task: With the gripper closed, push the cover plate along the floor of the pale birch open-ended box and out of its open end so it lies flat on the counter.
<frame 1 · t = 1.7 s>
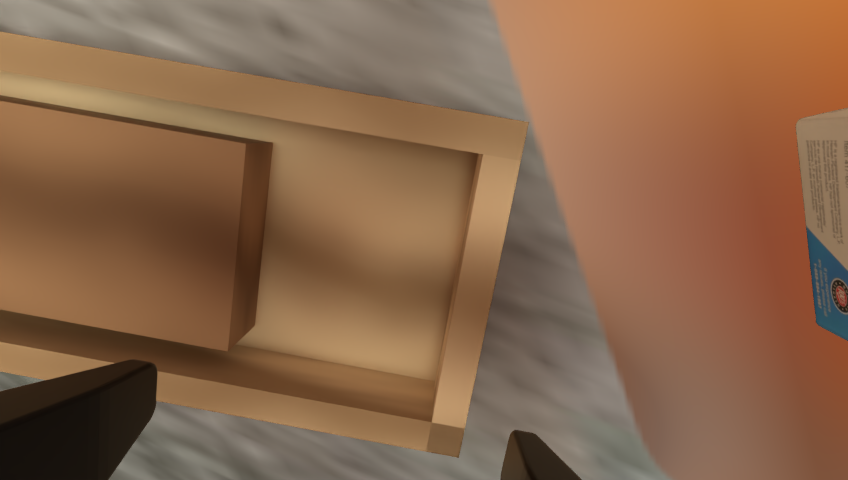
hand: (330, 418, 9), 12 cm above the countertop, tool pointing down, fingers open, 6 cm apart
cover plate: (118, 211, 20), point 1 cm above the countertop, touching open box
open box: (226, 224, 21), on the countertop
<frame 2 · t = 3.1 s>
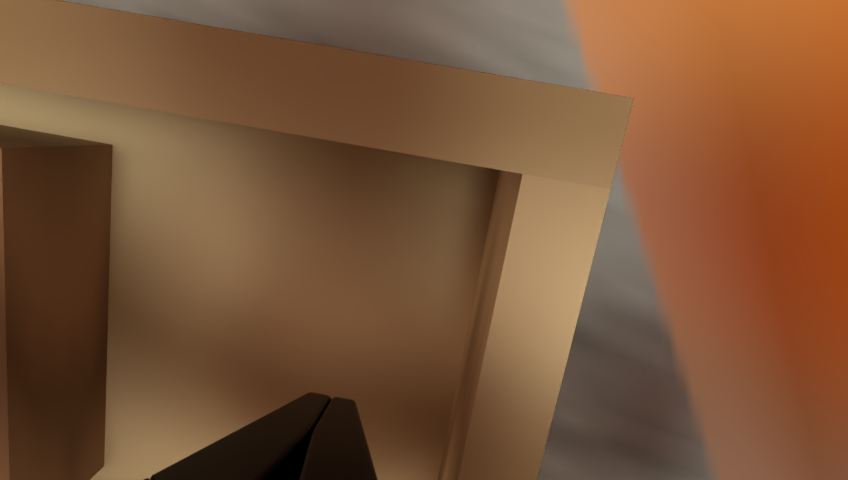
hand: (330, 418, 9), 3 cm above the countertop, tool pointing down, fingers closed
open box: (56, 287, 12), on the countertop
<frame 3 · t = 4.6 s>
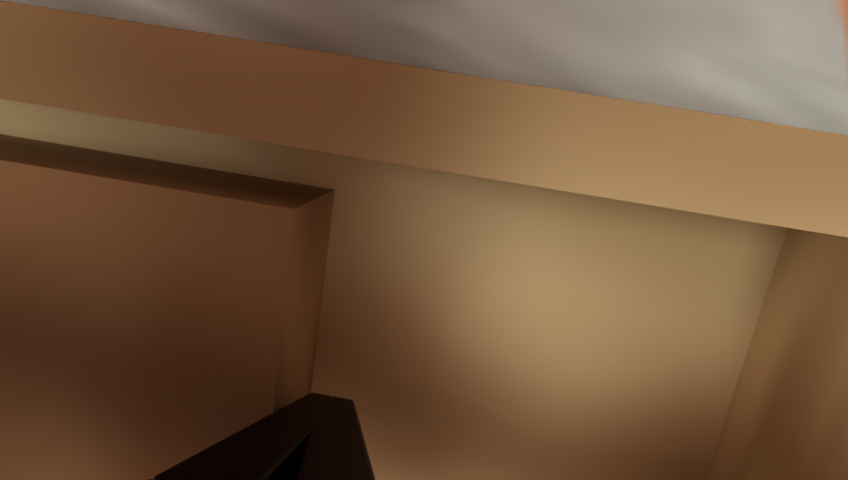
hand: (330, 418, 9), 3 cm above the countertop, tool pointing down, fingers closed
cover plate: (35, 320, 10), point 1 cm above the countertop, touching gripper
open box: (269, 341, 11), on the countertop
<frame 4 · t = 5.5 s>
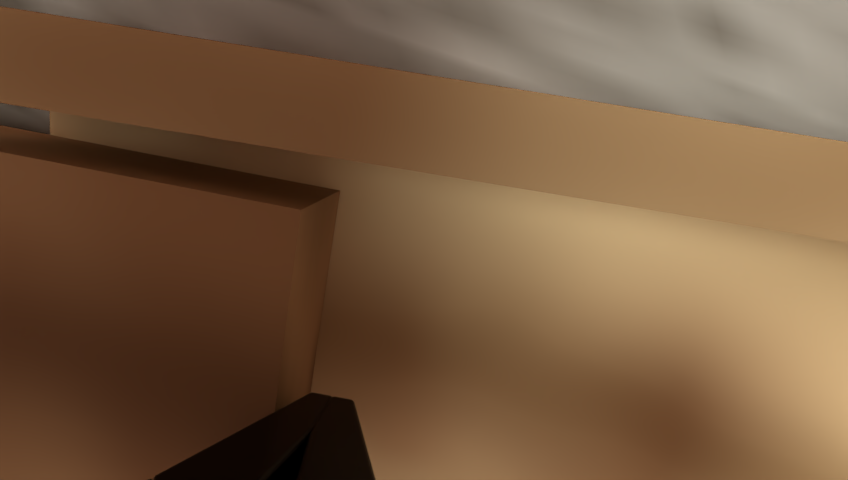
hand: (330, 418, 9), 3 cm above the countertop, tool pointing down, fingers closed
cover plate: (38, 312, 10), point 1 cm above the countertop, touching gripper
open box: (552, 392, 11), on the countertop
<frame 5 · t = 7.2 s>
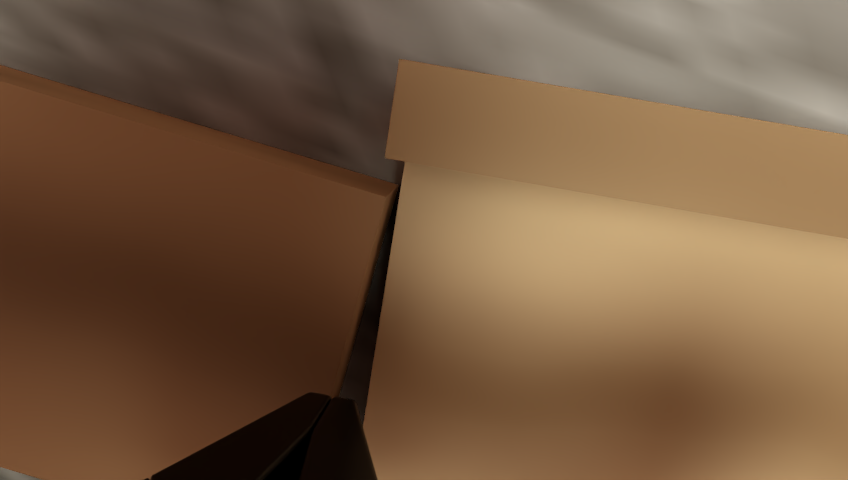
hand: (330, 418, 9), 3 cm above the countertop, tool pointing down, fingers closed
cover plate: (114, 263, 12), on the countertop
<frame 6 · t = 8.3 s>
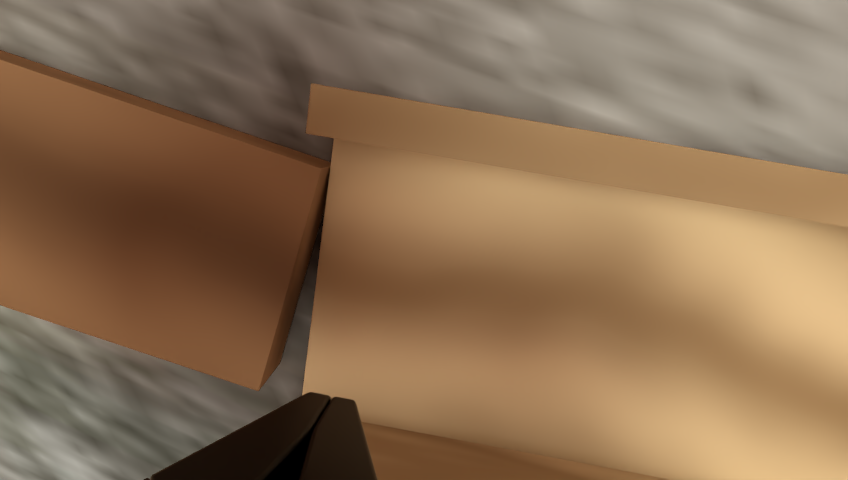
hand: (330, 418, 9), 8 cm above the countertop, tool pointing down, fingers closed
cover plate: (151, 211, 18), on the countertop
open box: (638, 328, 17), on the countertop
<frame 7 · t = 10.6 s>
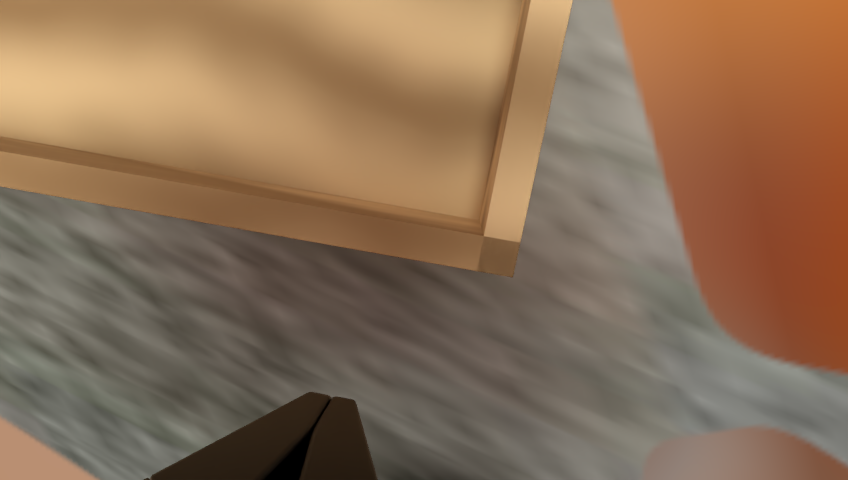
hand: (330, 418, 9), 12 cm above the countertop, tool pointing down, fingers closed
open box: (252, 52, 19), on the countertop
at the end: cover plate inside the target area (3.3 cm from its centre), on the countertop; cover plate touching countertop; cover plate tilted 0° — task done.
